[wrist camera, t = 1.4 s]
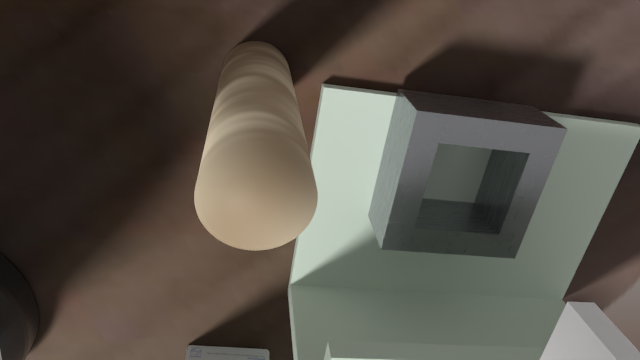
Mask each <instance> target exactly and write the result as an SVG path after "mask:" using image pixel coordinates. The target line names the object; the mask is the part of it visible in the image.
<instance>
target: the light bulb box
mask: <svg viewBox="0 0 640 360" xmlns="http://www.w3.org/2000/svg"><path fill="white" fill-rule="evenodd" d="M185 360H269V350H267V349H254V348H237V347H217V346H197V345H188V346H187V352H186V358H185Z"/></svg>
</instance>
